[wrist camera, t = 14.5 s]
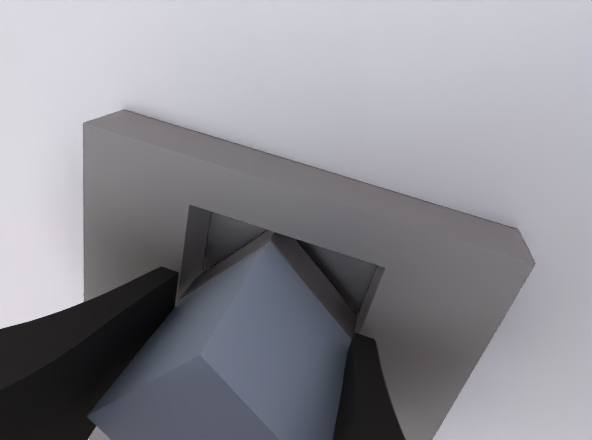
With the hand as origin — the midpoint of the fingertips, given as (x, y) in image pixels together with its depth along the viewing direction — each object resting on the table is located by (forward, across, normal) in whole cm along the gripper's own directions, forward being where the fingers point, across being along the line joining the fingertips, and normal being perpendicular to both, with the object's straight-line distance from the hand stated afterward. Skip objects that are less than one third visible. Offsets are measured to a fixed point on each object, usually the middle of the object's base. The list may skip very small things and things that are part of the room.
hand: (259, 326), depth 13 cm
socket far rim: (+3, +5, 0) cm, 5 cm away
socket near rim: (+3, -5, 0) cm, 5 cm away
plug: (+2, 0, 0) cm, 2 cm away
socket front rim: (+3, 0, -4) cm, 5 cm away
